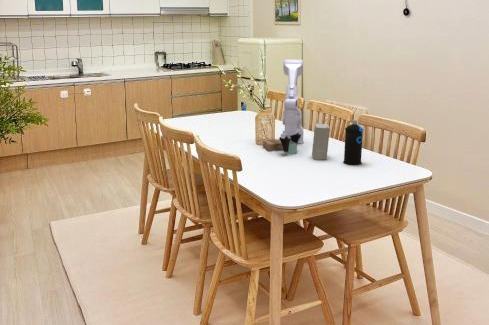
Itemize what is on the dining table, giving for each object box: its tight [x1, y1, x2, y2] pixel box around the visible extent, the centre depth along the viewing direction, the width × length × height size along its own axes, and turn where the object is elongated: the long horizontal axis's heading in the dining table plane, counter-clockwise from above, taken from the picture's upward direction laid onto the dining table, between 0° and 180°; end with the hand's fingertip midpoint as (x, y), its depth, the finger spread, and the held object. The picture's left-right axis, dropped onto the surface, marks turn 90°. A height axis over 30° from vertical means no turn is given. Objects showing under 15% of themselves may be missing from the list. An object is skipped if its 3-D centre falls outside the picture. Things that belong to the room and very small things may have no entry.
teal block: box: [282, 142, 298, 155], centre depth 258 cm, size 5×5×5 cm
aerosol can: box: [342, 119, 364, 166], centre depth 238 cm, size 8×8×20 cm
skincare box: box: [311, 123, 331, 161], centre depth 247 cm, size 8×7×16 cm
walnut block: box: [262, 138, 284, 152], centre depth 266 cm, size 9×9×4 cm
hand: (290, 150), depth 258 cm, fingers closed on teal block, 7 cm apart
